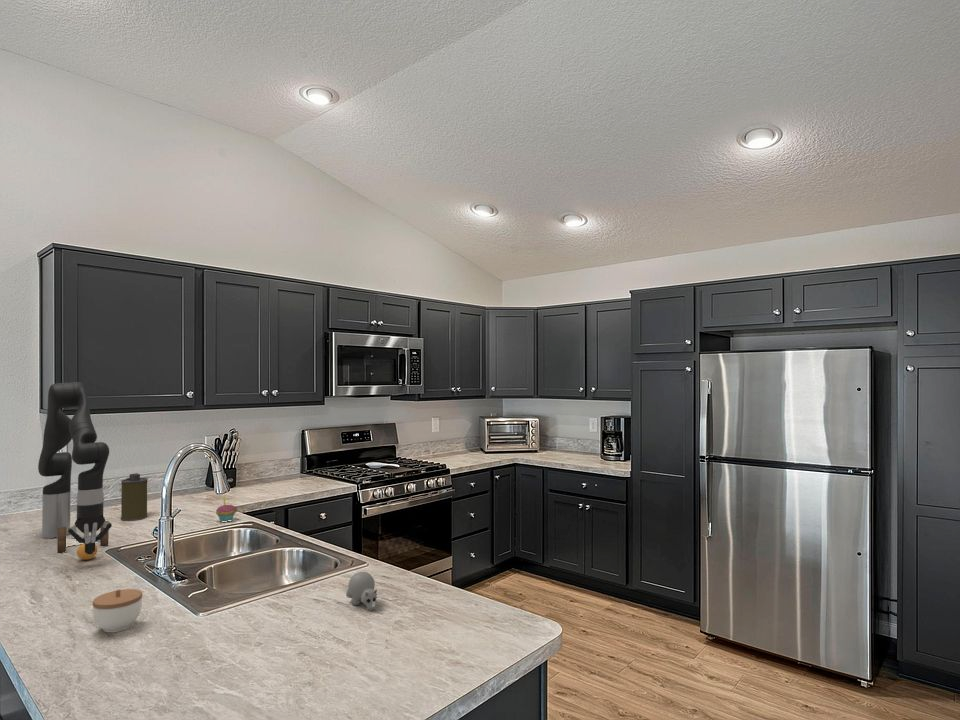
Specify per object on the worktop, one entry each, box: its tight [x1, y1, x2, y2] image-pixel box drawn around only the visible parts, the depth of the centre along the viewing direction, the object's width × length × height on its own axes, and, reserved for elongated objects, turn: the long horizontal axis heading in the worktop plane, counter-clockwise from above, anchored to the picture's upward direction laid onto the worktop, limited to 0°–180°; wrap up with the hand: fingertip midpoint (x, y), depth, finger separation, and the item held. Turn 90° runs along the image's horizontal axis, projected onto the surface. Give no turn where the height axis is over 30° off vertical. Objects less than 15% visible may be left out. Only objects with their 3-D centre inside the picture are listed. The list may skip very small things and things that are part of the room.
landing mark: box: [71, 533, 100, 543], centre depth 227 cm, size 13×13×1 cm
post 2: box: [99, 520, 110, 547], centre depth 220 cm, size 3×3×9 cm
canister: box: [120, 472, 148, 522], centre depth 264 cm, size 11×10×20 cm
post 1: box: [56, 527, 67, 554], centre depth 212 cm, size 3×3×9 cm
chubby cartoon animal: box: [345, 571, 378, 612], centre depth 160 cm, size 7×12×8 cm, turn 36°
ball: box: [76, 543, 99, 561], centre depth 204 cm, size 6×6×6 cm
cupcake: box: [215, 494, 238, 521], centre depth 257 cm, size 9×8×12 cm
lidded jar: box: [92, 588, 143, 634], centre depth 148 cm, size 11×11×9 cm
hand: (89, 553), depth 196 cm, fingers closed
